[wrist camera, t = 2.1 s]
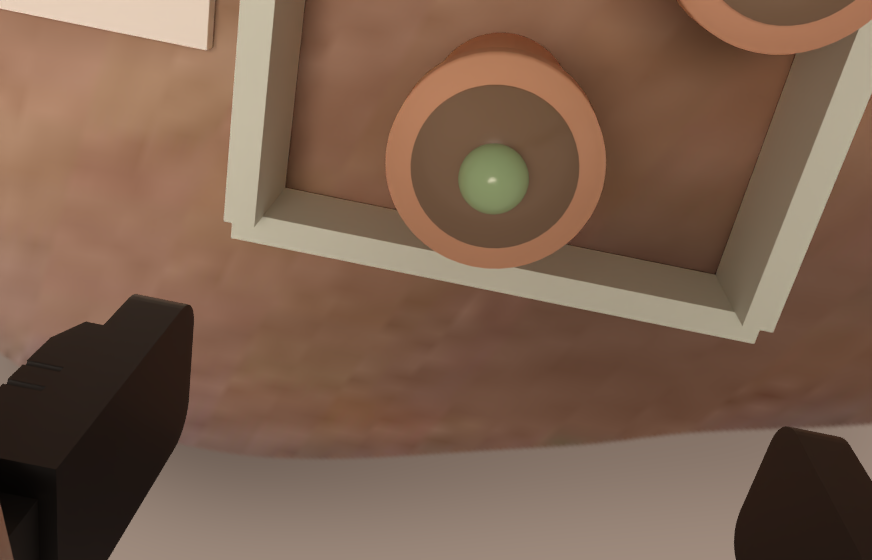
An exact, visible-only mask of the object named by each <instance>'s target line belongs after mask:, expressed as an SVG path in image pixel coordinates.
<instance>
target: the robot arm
mask: <svg viewBox="0 0 872 560" xmlns="http://www.w3.org/2000/svg"><path fill="white" fill-rule="evenodd" d="M193 327H194V314H193V309H192V307H191V306H190V305H188V304H183V303H178V302H173V301H168V300H163V299H158V298H153V297H148V296H143V295H138V294H134V295H132V296H131V297H130V298H129V299H128V300H127V301H126V302H125V303H124V304H123V305H122V306H121V307H120V308H119V309H118V310H117V311H116V312H115V313H114V315H113V316H112V317H111V318H110V319H109V320H108V321H107V322H106V323H105V324H104V325H100V324H95V323H90V322H84V323H82V324H80V325H77V326H75V327H73V328H71V329H69V330H66V331H64V332H62V333H60V334H58V335H55V336H53V337H51V338H50V339H49V340H48V341H47V342H46V343H45V344H43V345H42V346H41V347H40V348H39V349H38V350H37V351H36V352H35V353H34V354H33V355H32V356H31V357H30V358H29V359H28V360H27V364H26V365H22V366H21V367H20V368H19V369H18V370H17V371H16V372H15V373H14V374H13V375H12V376H10V377H9V379H8V382H7V384H2V385H1V386H0V560H108V558H109V557H110V555H111V553H112V551H113V550H114V548H115V547H116V545H117V543H118V542H119V540H120V538H121V537H122V535H123V533H124V532H125V530H126V528H127V527H128V525H129V523H130V522H131V520H132V518H133V516H134V515H135V513H136V512H137V510H138V508H139V506H140V505H141V503H142V502H143V500H144V498H145V497H146V495H147V493H148V492H149V490H150V488H151V487H152V485H153V483H154V482H155V480H156V478H157V477H158V475H159V473H160V472H161V470H162V468H163V467H164V465H165V463H166V462H167V460H168V458H169V457H170V455H171V454H172V452H173V450H174V448H175V447H176V445H177V443H178V440H179V438H180V435H181V433H182V430H183V426H184V423H185V419H186V415H187V410H188V402H189V388H190V373H191V358H192V342H193ZM734 550H735V557H736V560H872V481H871V479H870V477H869V476H868V475H867V473H866V471H865V470H864V468H863V466H862V464H861V463H860V461H859V460H858V458H857V456H856V455H855V453H854V452H853V450H852V448H851V447H850V445H849V444H848V442H847V441H846V440H845V439H843V438H841V437H837V436H832V435H827V434H822V433H817V432H812V431H807V430H802V429H798V428H793V427H782V428H781V429H779V430H778V431H777V432H776V434H775V435H774V437H773V438H772V440H771V442H770V445H769V447H768V449H767V452H766V454H765V456H764V459H763V461H762V463H761V465H760V468H759V470H758V472H757V474H756V476H755V479H754V481H753V483H752V486H751V488H750V490H749V492H748V495H747V497H746V499H745V501H744V504H743V506H742V508H741V510H740V513H739V516H738V519H737V523H736V528H735V536H734Z"/></svg>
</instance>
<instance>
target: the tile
mask: <svg viewBox="0 0 872 560" xmlns="http://www.w3.org/2000/svg"><path fill="white" fill-rule="evenodd" d="M0 9H5V10H10V11H15V12H20V13H25V14H30V15H35V16H40V17H44V18H49V19H54V20H59V21H64V22H69V23H74V24H79V25H84V26H89V27H94V28H99V29H104V30H109V31H114V32H119V33H124V34H128V35H133V36H138V37H143V38H148V39H153V40H158V41H163V42H168V43H173V44H178V45H183V46H188V47H193V48H198V49H203V50H208V49H210V48H212V47H213V31H214V15H215V0H0Z"/></svg>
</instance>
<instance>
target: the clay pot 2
mask: <svg viewBox="0 0 872 560" xmlns="http://www.w3.org/2000/svg"><path fill="white" fill-rule="evenodd" d="M677 2H678V3H679V5H680V6H681V7H682V8H683V10H684V11H685V12H686V13H687V14H688V15H689V16H690V17H691V18H692V19H693V20H694V21H695V22H697V23H698V24H699V25H700V26H702V27H703V28H704V29H706V30H707V31H709V32H710V33H712V34H713V35H715V36H717V37H718V38H720V39H721V40H723V41H725V42H726V43H729V44H731V45H733V46H736V47H738V48H740V49H744V50H748V51H751V52H755V53H762V54H770V55H787V54H795V53H803V52H807V51H811V50H815V49H819V48H821V47H824V46H827V45H829V44H832V43H835V42H837V41H839V40H841V39H843V38H844V37H846V36H848V35H850V34H852V33H853V32H855V31H856V30H858V29H859V28H861V27H862V26H864V25H865V24H867V23H868V22H869V21H870V20H872V0H677Z"/></svg>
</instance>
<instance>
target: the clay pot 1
mask: <svg viewBox="0 0 872 560" xmlns="http://www.w3.org/2000/svg"><path fill="white" fill-rule="evenodd" d="M385 166H386V178H387V183H388V188H389V191H390V195H391V198H392V201H393V203H394V205H395V207H396V209H397V211H398V213H399V215H400V216H401V218H402V219H403V221H404V223H405V224H406V225H407V227H408V228H409V229H410V230H411V231H412V233H413V234H414V235H415V236H416V237H417V238H418V239H420V240H421V241H422V242H423V243H424V244H425V245H427V246H428V247H429V248H431V249H432V250H434V251H435V252H437V253H439V254H440V255H442V256H444V257H446V258H448V259H451V260H453V261H456V262H458V263H461V264H465V265H469V266H472V267H479V268H487V269H502V268H513V267H518V266H522V265H527V264H530V263H532V262H535V261H538V260H541V259H543V258H545V257H547V256H549V255H551V254H553V253H554V252H556V251H557V250H559V249H560V248H562V247H563V246H564V245H566V244H567V243H568V242H569V241H570V240H571V239H573V238H574V237H575V236H576V235H577V233H578V232H579V231H580V230H581V229H582V228H583V227H584V225H585V224H586V222H587V221H588V220H589V218H590V217H591V215H592V213H593V211H594V209H595V207H596V205H597V204H598V201H599V198H600V195H601V192H602V189H603V185H604V180H605V172H606V152H605V145H604V140H603V135H602V132H601V129H600V126H599V123H598V121H597V118H596V115H595V112H594V109H593V107H592V105H591V103H590V101H589V99H588V98H587V96H586V94H585V93H584V91H583V90H582V89H581V87H580V86H579V84H578V83H577V82H576V81H575V80H574V79H573V78H572V77H571V76H570V75H569V74H568V73H567V72H565V71H564V70H563V69H562V68H561V66H560V64H559V63H558V62H557V60H556V59H555V58H554V57H553V55H552V54H551V53H550V52H549V51H548V50H546V49H545V48H544V47H543V46H541V45H540V44H538V43H537V42H535V41H533V40H531V39H529V38H526V37H524V36H520V35H517V34H511V33H491V34H485V35H481V36H478V37H475V38H473V39H471V40H468V41H467V42H465V43H463V44H462V45H460V46H459V47H458V48H456V49H455V50H454V51H453V52H452V53H451V54H450V55H449V56H448V57H447V58H446V59H445V60H444V61H443V62H442V63H440V64H438V65H437V66H435V67H434V68H433V69H432V70H430V71H429V72H428V73H426V74H425V75H424V76H423V77H422V78H421V79H420V81H419V82H418V83H417V84H416V85H415V86H414V88H413V89H412V90H411V92H410V93H409V94H408V96H407V98H406V100H405V101H404V103H403V105H402V107H401V109H400V111H399V113H398V114H397V116H396V118H395V120H394V123H393V125H392V128H391V131H390V134H389V138H388V142H387V147H386V157H385Z"/></svg>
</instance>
